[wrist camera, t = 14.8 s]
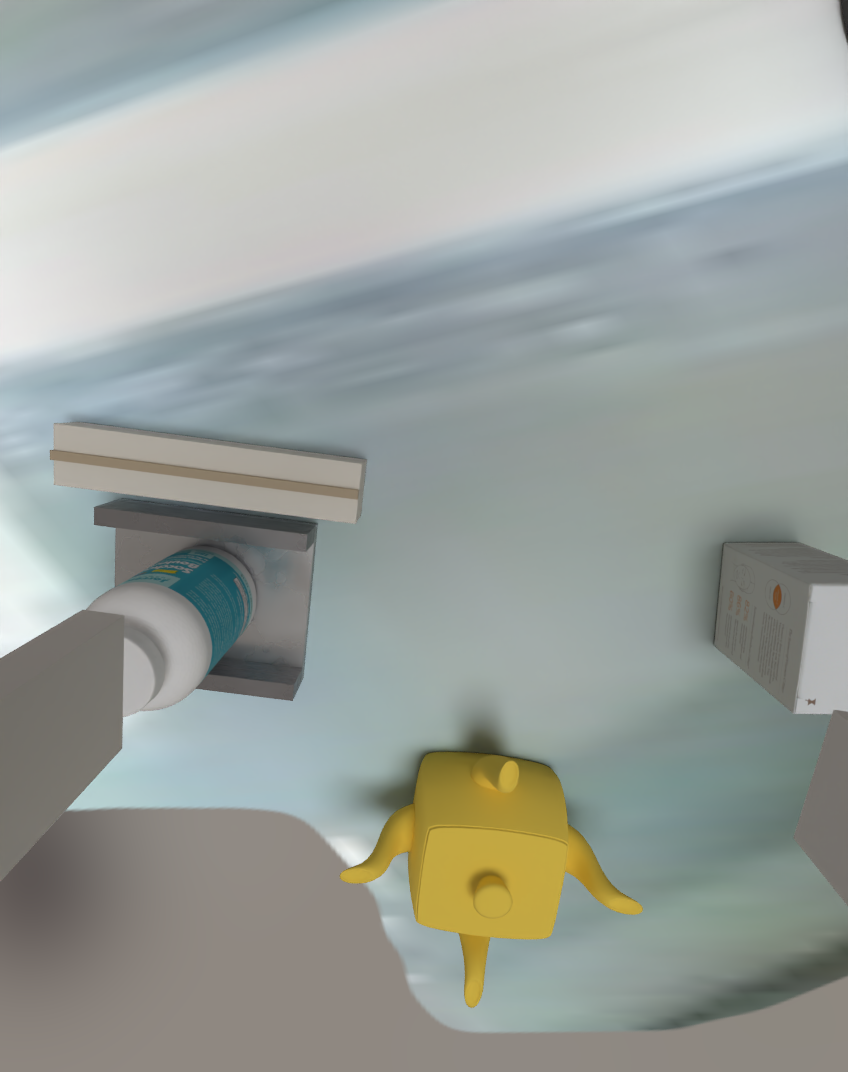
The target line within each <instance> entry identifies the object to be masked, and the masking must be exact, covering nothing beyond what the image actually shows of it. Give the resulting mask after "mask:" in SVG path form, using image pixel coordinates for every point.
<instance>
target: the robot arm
mask: <svg viewBox="0 0 848 1072" xmlns="http://www.w3.org/2000/svg"><path fill="white" fill-rule="evenodd" d="M842 9H843V16H844V22H845V26H846V30H847V34H848V0H842ZM123 670H124V615H119V614H112V613H104V612H97V611H89V610H82V611H80V612H78V613H77V614H75V615H73V616H72V617H70V618H68V619H66V620H65V621H63V622H61V623H60V624H58V625H56V626H55V627H53V628H51V629H49V630H48V631H46V632H44V633H43V634H41V635H39V636H38V637H36V638H34V639H33V640H31V641H29V642H27V643H26V644H24V645H22V646H21V647H19V648H17V649H16V650H14V651H12V652H10V653H9V654H7V655H5V656H4V657H2V658H0V881H1V880H2V879H3V878H4V877H5V876H6V875H7V874H8V873H9V872H10V871H11V869H12V868H13V867H14V866H15V865H16V864H17V863H18V862H19V861H20V860H21V858H22V857H23V856H24V855H25V854H26V853H27V852H28V851H29V850H30V849H31V847H32V846H33V845H34V844H35V843H36V842H37V841H38V840H39V839H40V838H41V837H42V835H43V834H44V833H45V832H46V831H47V830H48V829H49V828H50V827H51V825H52V824H53V823H54V822H55V821H56V820H57V819H58V818H59V817H60V816H61V815H62V814H63V813H64V811H65V810H66V809H67V808H68V807H69V806H70V805H71V804H72V803H73V802H74V800H75V799H76V798H77V797H78V796H79V795H80V794H81V793H82V792H83V791H84V790H85V788H86V787H87V786H88V785H89V784H90V783H91V782H92V781H93V780H94V779H95V777H96V776H97V775H98V774H99V773H100V772H101V771H102V770H103V769H104V768H105V767H106V765H107V764H108V763H109V762H110V761H111V760H112V759H113V758H114V757H115V756H116V754H117V753H118V752H119V751H120V750H121V749H122V726H123ZM794 839H795V840H796V842H797V843H798V844H799V845H800V847H801V848H802V849H803V850H804V852H805V853H806V854H807V855H808V857H809V858H810V859H811V860H812V862H813V863H814V864H815V865H816V867H817V868H818V869H819V870H820V872H821V873H822V874H823V875H824V877H825V878H826V879H827V880H828V882H829V883H830V884H831V885H832V887H833V888H834V889H835V891H836V892H837V893H838V894H839V896H840V897H841V898H842V899H843V901H844V902H845V903H846V904H847V906H848V712H847V711H840V710H833V713H832V716H831V719H830V723H829V726H828V729H827V732H826V735H825V739H824V742H823V745H822V748H821V751H820V755H819V758H818V761H817V764H816V767H815V771H814V774H813V777H812V780H811V783H810V787H809V790H808V793H807V796H806V799H805V803H804V806H803V809H802V812H801V815H800V819H799V822H798V825H797V828H796V831H795V835H794Z"/></svg>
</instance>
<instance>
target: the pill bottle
mask: <svg viewBox="0 0 848 1072" xmlns="http://www.w3.org/2000/svg"><path fill="white" fill-rule="evenodd" d="M256 598H257V597H256V589H255V585H254V582H253V580H252V577H251V575H250V574H249V572H248V570H247V569H246V568H245V566H244V565H243V564H242V563H241V562H240V561H239V560H238V559H236V558H235V557H234V556H232V555H231V554H229V553H227V552H225V551H223V550H220V549H218V548H214V547H208V546H194V547H188V548H185V549H182V550H180V551H177V552H176V553H174V554H172V555H170V556H168V557H166V558H165V559H163V560H161V561H159V562H158V563H156V564H154V565H152V566H151V567H149V568H147V569H146V570H144V571H142V572H140V573H139V574H137V575H135V576H133V577H132V578H130V579H128V580H126V581H125V582H123V583H121V584H119V585H118V586H116V587H114V588H112V589H111V590H109V591H107V592H106V593H104V594H103V595H101V596H100V597H98V598H97V599H96V600H95V601H94V602H93V603H91V604H90V606H89V607H88V608H87V609H86V610H89V611H97V612H104V613H112V614H119V615H124V670H123V717H126V716H129V715H132V714H134V713H136V712H138V711H153V710H159V709H163V708H166V707H169V706H172V705H174V704H176V703H178V702H180V701H181V700H183V699H184V698H186V697H187V696H188V695H189V694H190V693H192V692H193V691H194V690H195V689H196V687H197V686H198V685H199V684H200V683H201V682H202V681H203V679H204V678H205V677H206V676H207V675H208V673H209V672H210V671H211V670H212V669H213V667H214V666H215V665H216V664H217V663H218V661H219V660H220V659H221V658H222V657H223V656H224V654H225V653H226V652H227V651H228V650H229V648H230V647H231V646H232V645H233V644H234V643H235V641H236V640H237V639H238V638H239V637H240V636H241V635H242V633H243V632H244V631H245V629H246V628H247V627H248V625H249V624H250V622H251V620H252V618H253V616H254V613H255V609H256Z"/></svg>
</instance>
